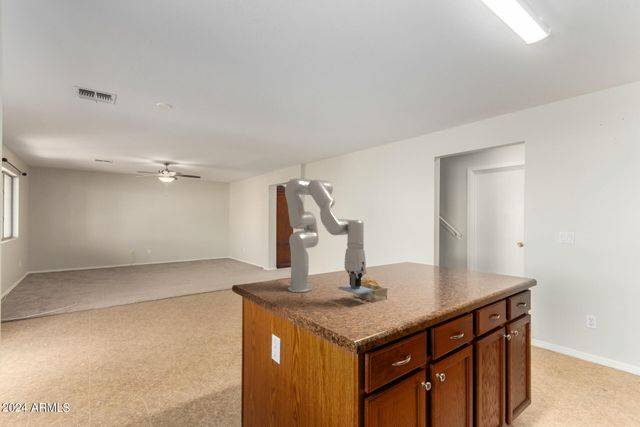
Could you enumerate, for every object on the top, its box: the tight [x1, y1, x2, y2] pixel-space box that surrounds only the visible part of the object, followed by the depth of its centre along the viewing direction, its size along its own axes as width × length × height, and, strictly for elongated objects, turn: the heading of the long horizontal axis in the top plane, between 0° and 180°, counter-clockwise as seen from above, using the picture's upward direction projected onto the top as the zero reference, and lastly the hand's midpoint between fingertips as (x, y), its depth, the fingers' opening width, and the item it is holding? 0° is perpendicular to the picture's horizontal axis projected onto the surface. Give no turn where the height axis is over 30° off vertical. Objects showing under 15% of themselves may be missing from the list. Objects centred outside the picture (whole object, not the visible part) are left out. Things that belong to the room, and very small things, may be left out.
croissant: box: [361, 276, 379, 286], centre depth 175 cm, size 21×10×8 cm, turn 18°
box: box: [355, 283, 388, 303], centre depth 157 cm, size 12×9×6 cm
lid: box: [337, 272, 373, 295], centre depth 150 cm, size 13×10×8 cm
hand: (355, 285), depth 150 cm, fingers closed on lid, 3 cm apart
